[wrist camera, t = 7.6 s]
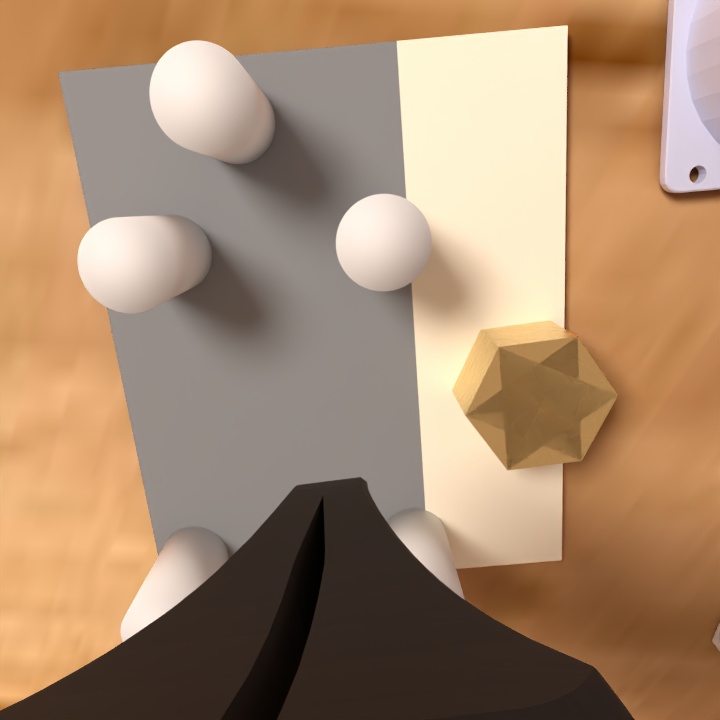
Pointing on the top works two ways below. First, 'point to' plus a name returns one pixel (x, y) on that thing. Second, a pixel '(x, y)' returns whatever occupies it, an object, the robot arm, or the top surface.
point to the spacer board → (324, 282)
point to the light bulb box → (717, 638)
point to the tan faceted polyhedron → (533, 394)
